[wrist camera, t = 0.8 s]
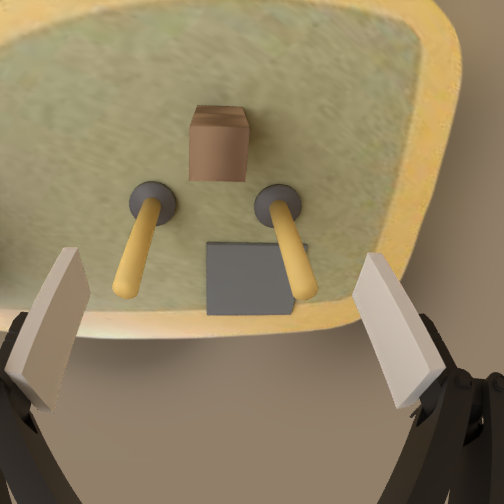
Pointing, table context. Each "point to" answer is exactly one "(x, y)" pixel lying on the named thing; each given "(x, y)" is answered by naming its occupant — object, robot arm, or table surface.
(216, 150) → the block
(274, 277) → the mat
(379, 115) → the table surface
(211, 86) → the table surface
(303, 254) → the gate
